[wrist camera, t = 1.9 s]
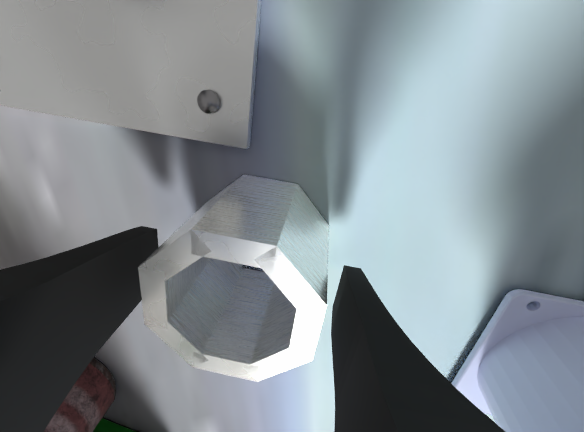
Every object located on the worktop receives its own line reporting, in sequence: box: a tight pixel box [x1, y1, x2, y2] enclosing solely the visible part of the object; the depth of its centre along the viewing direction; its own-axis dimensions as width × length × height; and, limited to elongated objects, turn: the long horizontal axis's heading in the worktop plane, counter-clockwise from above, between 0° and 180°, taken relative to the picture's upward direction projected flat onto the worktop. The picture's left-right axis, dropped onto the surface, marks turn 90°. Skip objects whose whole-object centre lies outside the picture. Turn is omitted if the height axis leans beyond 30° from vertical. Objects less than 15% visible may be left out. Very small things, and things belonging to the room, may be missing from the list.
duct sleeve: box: [138, 174, 329, 382], centre depth 11 cm, size 6×6×5 cm
